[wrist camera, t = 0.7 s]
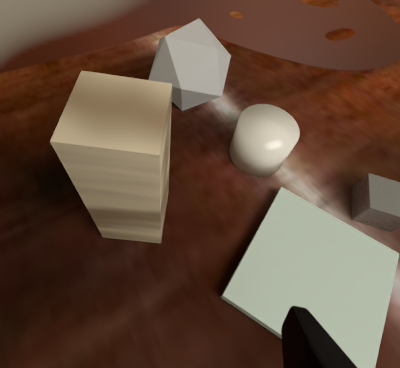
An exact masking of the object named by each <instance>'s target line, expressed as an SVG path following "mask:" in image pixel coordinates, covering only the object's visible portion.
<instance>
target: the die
mask: <svg viewBox="0 0 400 368" xmlns="http://www.w3.org/2000/svg"><path fill="white" fill-rule="evenodd" d="M230 58H231V55H230V54H229V53H228V52H227V50H226V49H225V48H224V47H223V46H222V45H221V43H220V42H219V41H218V40H217V39H216V37H215V36H214V35H213V34H212V33H211V31H210V30H209V29H208V28H207V27H206V26H205V24H204V23H203V22H202V21H201V20H200V19H197V20H195V21H193V22H192V23H190V24H188V25H186V26H184V27H182V28H180V29H178V30H176V31H174V32H172V33H171V34H169V35H167V36H165V37H163V38H161V39H160V41H159V44H158V48H157V51H156V55H155V58H154V62H153V65H152V69H151V72H150V76H149V80H151V81H158V82H165V83H172V102H173V103H174V104H175V105H176V106H177V107H179V108H180V109H181V110H182V111H183V110H186V109H189V108H192V107H194V106H197V105H200V104H202V103H205V102H208V101H210V100H213V99H216V98H219V97H221V96H222V92H223V88H224V84H225V79H226V75H227V71H228V66H229V62H230Z"/></svg>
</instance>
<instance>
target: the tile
mask: <svg viewBox="0 0 400 368" xmlns="http://www.w3.org/2000/svg"><path fill="white" fill-rule="evenodd" d="M398 258H399V253H397V252H395V251H394V250H392V249H390V248H388V247H387V246H385V245H383V244H381V243H380V242H378V241H376V240H374V239H372V238H371V237H369V236H367V235H365V234H364V233H362V232H360V231H358V230H357V229H355V228H353V227H351V226H350V225H348V224H346V223H344V222H343V221H341V220H339V219H337V218H335V217H334V216H332V215H330V214H328V213H327V212H325V211H323V210H321V209H320V208H318V207H316V206H314V205H313V204H311V203H309V202H307V201H306V200H304V199H302V198H300V197H298V196H297V195H295V194H293V193H291V192H290V191H288V190H286V189H284V188H283V187H281V188H280V189H279V191H278V192H277V194H276V196H275V198H274V200H273V202H272V203H271V205H270V207H269V209H268V211H267V213H266V214H265V216H264V218H263V220H262V222H261V224H260V225H259V227H258V229H257V231H256V233H255V235H254V236H253V238H252V240H251V242H250V244H249V246H248V247H247V249H246V251H245V253H244V255H243V257H242V258H241V260H240V262H239V264H238V266H237V268H236V270H235V271H234V273H233V275H232V277H231V279H230V281H229V282H228V284H227V286H226V288H225V290H224V292H223V293H222V295H221V298H222V299H224V300H225V301H227V302H228V303H230V304H231V305H233V306H234V307H236V308H237V309H238V310H240V311H241V312H243V313H244V314H246V315H247V316H249V317H250V318H252V319H253V320H255V321H256V322H258V323H259V324H261V325H262V326H264V327H265V328H266V329H268V330H269V331H271V332H272V333H274V334H275V335H277V336H278V337H280V338H281V339H282V336H281V329H282V324H283V322H284V320H285V318H286V316H287V313H288V311H289V309H290V307H292V306H299V307H304V308H306V309H308V310H309V311H310V313H311V314H312V315H313V316H314V317H315V318H316V320H317V321H318V322H319V323H320V324H321V325H322V327H323V328H324V329H325V330H326V331H327V333H328V334H329V335H330V336H331V337H332V338H333V340H334V341H335V342H336V343H337V344H338V345H339V347H340V348H341V349H342V350H343V351H344V352H345V354H346V355H347V356H348V357H349V358H350V359H351V361H352V362H353V363H354V364H355V365H356V367H357V368H375V366H376V361H377V356H378V352H379V347H380V342H381V338H382V333H383V328H384V324H385V319H386V314H387V310H388V305H389V300H390V295H391V291H392V286H393V281H394V277H395V272H396V267H397V263H398Z"/></svg>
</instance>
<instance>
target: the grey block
mask: <svg viewBox="0 0 400 368" xmlns="http://www.w3.org/2000/svg"><path fill="white" fill-rule="evenodd" d="M352 220H354V221H357V222H360V223H363V224H366V225H370V226H373V227H376V228H379V229H382V230H385V231H389V232H392V231H394V230H396V229H398V228H400V182H396V181H393V180H390V179H387V178H383V177H380V176H377V175H374V174H370V173H368V174H367V175H366V176H364V177H363V178H362V179H361V180H360V181H358V182H357V183H356V184H355V185H354V186H352Z"/></svg>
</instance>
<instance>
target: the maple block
mask: <svg viewBox="0 0 400 368" xmlns="http://www.w3.org/2000/svg"><path fill="white" fill-rule="evenodd" d="M171 105H172V83H165V82H158V81H151V80H144V79H136V78H129V77H122V76H115V75H108V74H101V73H94V72H87V71H81V73H80V75H79V77H78V80H77V82H76V84H75V86H74V89H73V91H72V93H71V95H70V98H69V100H68V102H67V104H66V107H65V109H64V111H63V113H62V115H61V118H60V120H59V122H58V124H57V127H56V129H55V131H54V133H53V136H52V138H51V140H50V142H51V144H52V146H53V148H54V150H55V152H56V153H57V155H58V157H59V159H60V161H61V162H62V164H63V166H64V168H65V170H66V171H67V173H68V175H69V177H70V179H71V180H72V182H73V184H74V186H75V188H76V190H77V191H78V193H79V195H80V197H81V199H82V200H83V202H84V204H85V206H86V208H87V209H88V211H89V213H90V215H91V217H92V219H93V220H94V222H95V224H96V226H97V228H98V229H99V231H100V233H101V235H102V237H105V238H115V239H125V240H134V241H144V242H154V243H161V239H162V232H163V225H164V219H165V212H166V205H167V198H168V185H169V158H170V131H171Z"/></svg>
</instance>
